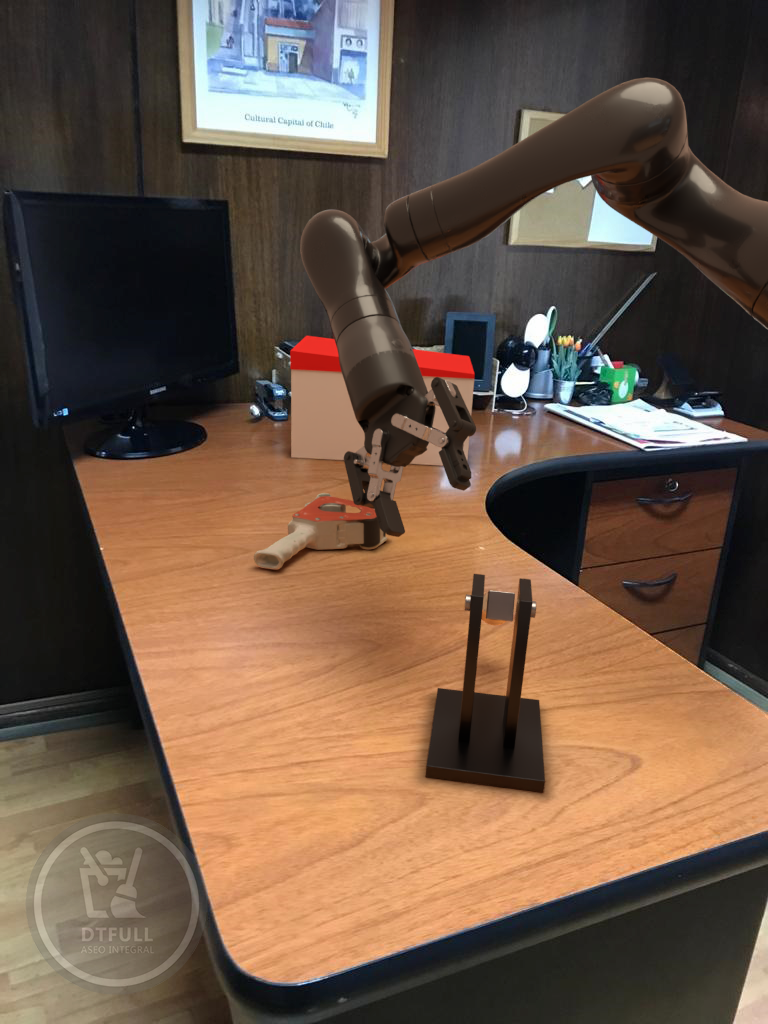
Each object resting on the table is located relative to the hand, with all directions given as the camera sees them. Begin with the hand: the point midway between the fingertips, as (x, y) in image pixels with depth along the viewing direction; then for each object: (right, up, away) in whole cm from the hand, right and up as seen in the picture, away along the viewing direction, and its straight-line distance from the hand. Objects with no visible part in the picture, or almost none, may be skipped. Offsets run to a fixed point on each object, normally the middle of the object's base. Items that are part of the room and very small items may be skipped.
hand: (427, 511), depth 70 cm
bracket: (+5, -21, +1) cm, 22 cm away
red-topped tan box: (-5, +13, +91) cm, 92 cm away
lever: (+7, -11, +3) cm, 13 cm away
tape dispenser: (-13, -5, +42) cm, 45 cm away
